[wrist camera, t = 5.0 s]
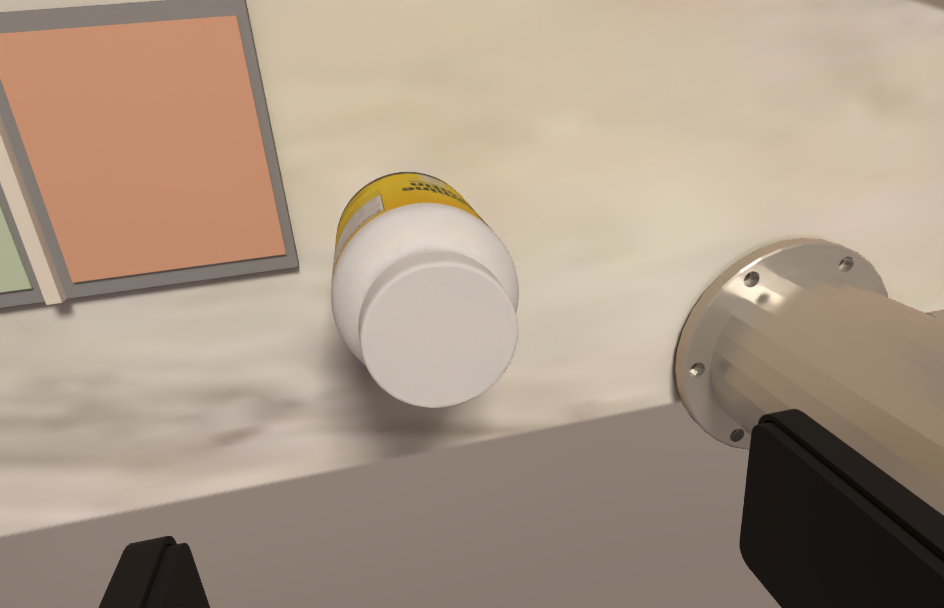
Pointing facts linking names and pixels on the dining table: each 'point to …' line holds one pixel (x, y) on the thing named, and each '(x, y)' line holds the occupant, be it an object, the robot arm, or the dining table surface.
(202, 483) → the dining table surface
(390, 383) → the pill bottle
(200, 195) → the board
